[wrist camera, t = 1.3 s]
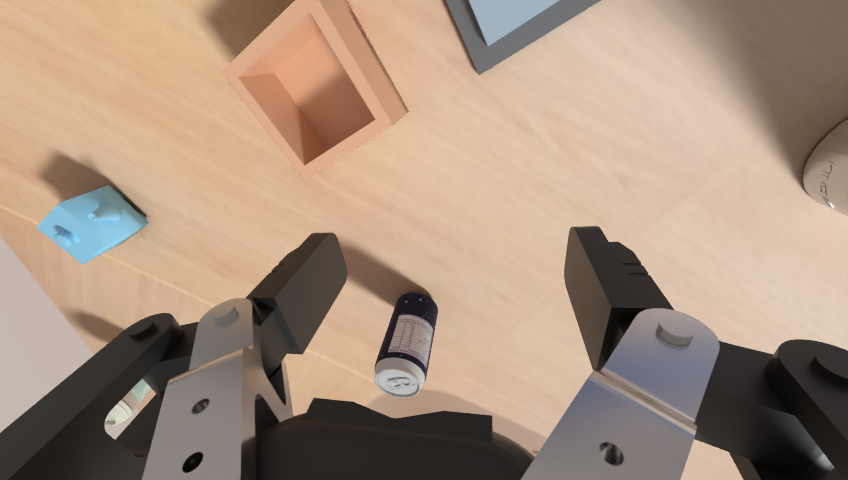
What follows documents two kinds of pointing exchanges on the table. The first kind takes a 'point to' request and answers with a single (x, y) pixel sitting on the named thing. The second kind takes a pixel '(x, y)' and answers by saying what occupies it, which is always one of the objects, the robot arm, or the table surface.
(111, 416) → the coffee cup
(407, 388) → the beverage can
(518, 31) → the mat
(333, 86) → the tan open box
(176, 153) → the table surface
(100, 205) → the teapot
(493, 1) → the lid
